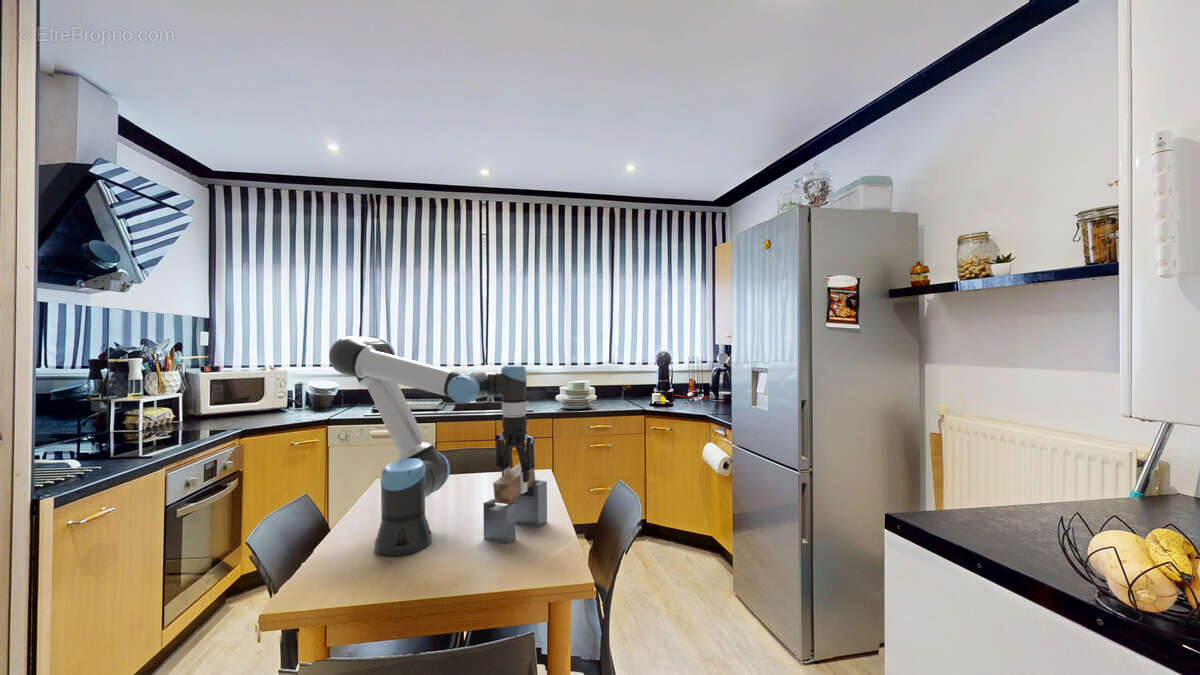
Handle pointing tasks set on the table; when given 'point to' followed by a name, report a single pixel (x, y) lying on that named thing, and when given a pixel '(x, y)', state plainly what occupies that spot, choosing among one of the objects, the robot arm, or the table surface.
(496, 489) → the walnut rail
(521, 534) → the table surface
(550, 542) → the table surface
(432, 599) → the table surface
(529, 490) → the cup bracket stand
